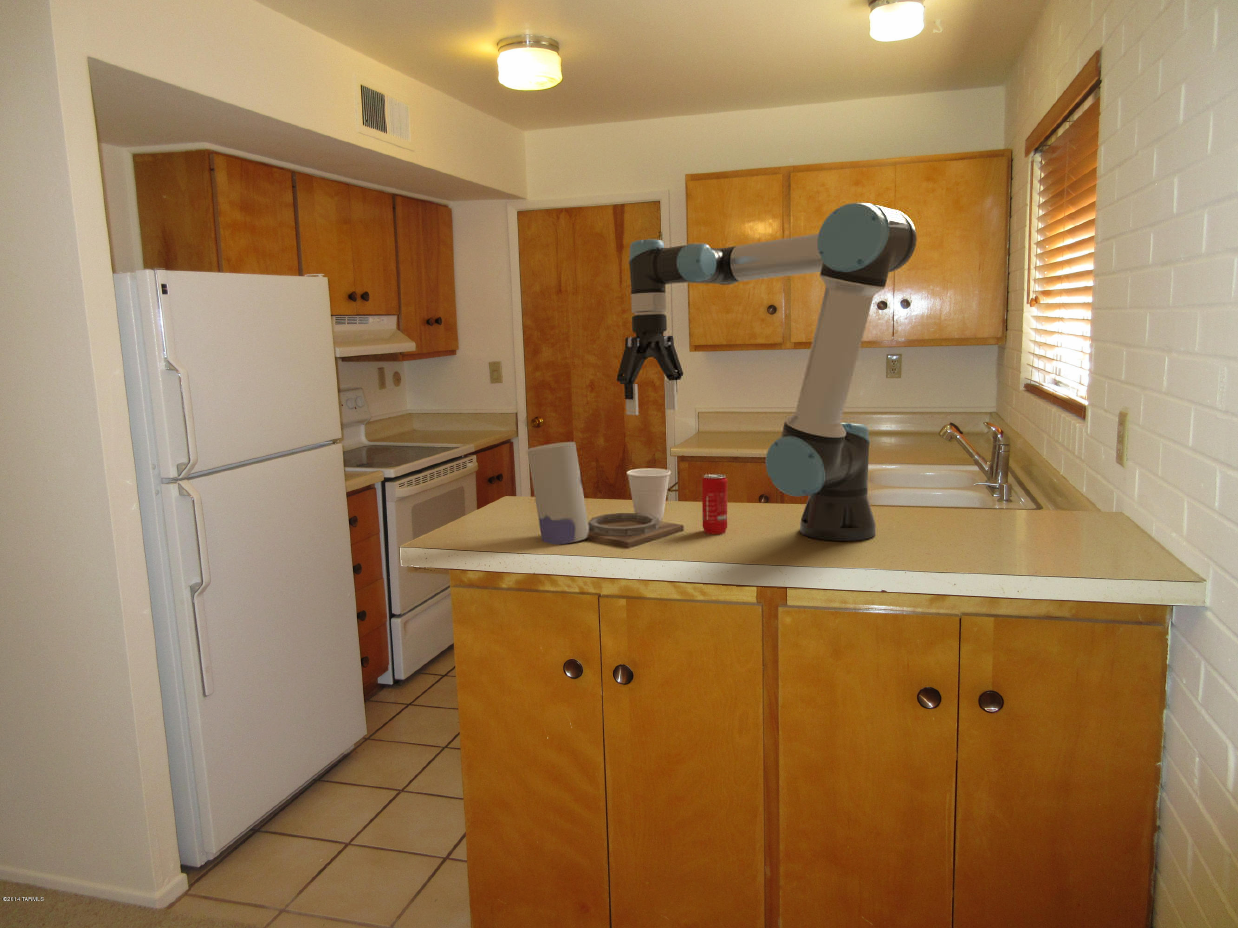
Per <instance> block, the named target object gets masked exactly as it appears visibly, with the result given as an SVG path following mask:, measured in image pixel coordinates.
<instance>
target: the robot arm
mask: <svg viewBox="0 0 1238 928" xmlns="http://www.w3.org/2000/svg"><path fill="white" fill-rule="evenodd" d="M917 238H918V237H917V231H916V227H915V225H914V223H913V221H912V220H911V219H910V218H909V217H908V215H907V214H904V213H903V212H902V211H900V210H897V209H893V208H890V207H889V208H888V207H884V206H881V205H876V204H873V203H870V202H851V203H846V204H843V205H841V206H839V207H838V208H836V209H835V210H833V211H832V212H831V213H829V214H828V215H827V217H826V218H825V220H824V221H823V222H822V224H821V226H820V229H819V231H818V232H817V233H813V234H806V235H799V236H794V237H793V236H792V237H787V238H780V239H775V240H774V239H773V240H766V241H760V242H756V243H755V242H753V243H747V244H746V243H745V244H741V245H740V244H739V245H736V246H735V245H734V246H727V247H719V248H718V247H717V248H716V247H710V245H708V244H707V243H688V244H684V245H677V246H671V247H665V244H664V241H663V240H661V239H655V238H653V239H651V238H650V239H639V240H635V241H632V242H631V243H630V245H629V258H628V259H629V260H628V264H629V275H630V276H629V278H630V294H631V295H630V297H631V298H630V300H631V313H632V314H634V315H632V317H631V331H632V332H633V333H634V334H635V336H630V337H629V336H627V337H625V340H624V350H623V354H622V358H621V361H620V364H619V367H618V372H617V376H616V381H617V382H618V383H619V384H620V385H623V386H624V387H623V390H624V399H625V409H626V413H625V414H626V415H627V416H639V395H638V394H639V392H638V391H639V390H638V389H639V388H638V384H637V383H635V382H636V380H637V378H638V375H639V374H640V372H641V370H642V367H643V365H644V364H645V361H646V360H647V359H648V358H653V359H655V361H656V362H657V363H658V365H659V367H660V369H661V371H662V372H663V374H664V376H665V378H666V379H667V380H664V400H665V401H664V402H665V410H673V411H675V410H678V399H677V395H678V381H681V380H682V377H683V376H684V371H683V368H682V364H681V362H680V360H679V356H678V353H677V350H676V346H675V342H674V336H673V335H664V333H665V332H666V331H667V330H668V326H667V325H668V323H667V322H668V321H667V315H666V314H665V313H666V311H667V293H666V286H667V285H673V284H685V283H686V284H690V283H691V284H713V285H714V284H715V285H716V284H717V285H721V286H726V285H727V286H729V285H733V284H736V283H738V282H745V281H746V282H747V281H753V280H763V279H770V278H771V279H772V278H781V277H787V276H788V277H789V276H798V275H806V274H815V273H820V274H819V277H820V279H821V280H822V282H823V284H824V286H825V290H824V293H823V298H822V302H821V305H820V311H819V314H818V318H817V323H816V327H815V330H814V333H813V334H814V335H813V339H812V342H811V346H810V351H809V355H808V359H807V363H806V366H805V367H806V368H805V370H804V371H805V372H804V376H803V379H802V382H801V383H802V384H801V388H800V391H799V395H798V400H797V404H796V408H795V412H794V413H792V414H790V415H789V416H787V417H786V418H785V419H784V423H783V427H782V432H781V435H780V437H779V438H777V439H776V440H775V441H774V442H773V443H772V444H771V445H769V448H768V450H767V452H766V456H765V469H766V473H767V475H768V477H769V478H770V479H771V482H772V484H773V486H775V487H776V488H777V489H778V490H779V491H780V492H783V494H786V495H789V496H792V497H804V496H805V497H806V496H808V498H807V500H806V503H805V507H804V511H803V512H802V515H801V518H800V522H799V523H800V524H799V525H800V527H799V528H800V530H799V531H800V533H801V534H802V535H803V536H806V537H809V538H813V539H816V540H824V541H835V542H851V541H853V542H854V541H863V540H868V539H871V538H873V537H875V536H876V531H877V530H876V528H877V525H876V521H875V517H874V513H873V511H872V508H871V505H870V501H869V497H868V491H869V489H868V488H869V485H868V483H869V458H870V457H869V456H870V444H871V440H870V433H869V428H868V427H867V426H866V425H865V424H863V423H862V424H861V423H848V422H842V417H843V414H844V410H845V407H846V406H845V405H846V403H847V399H848V395H849V391H850V387H851V383H852V379H853V376H854V371H855V368H856V365H857V362H858V361H857V360H858V357H859V353H860V348H861V347H862V341H863V338H864V336H865V335H864V334H865V332H866V331H865V330H866V326H867V324H868V323H867V322H868V318H869V316H870V311H871V307H872V304H873V301H874V297H875V296H876V294H877V295H878V293H880V292H881V291H882V290H884V289H885V288H886V285H887V280H888V278H889V274H890V273H892V272H895V271H897V270H900V268H902V267H904V266H905V265H906V264H907V263H908V262H909V260H910V259H911V258H912V256H913V255H914V252H915V249H916V247H917Z"/></svg>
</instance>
